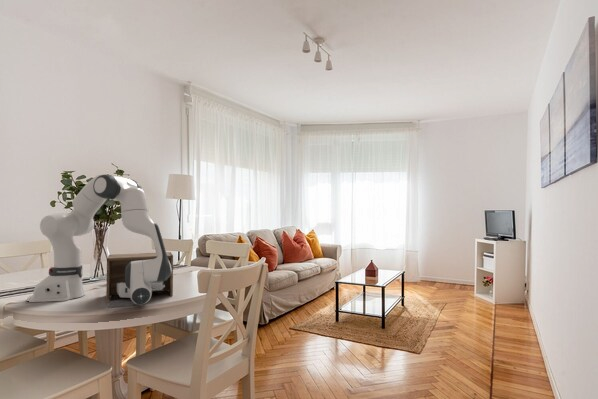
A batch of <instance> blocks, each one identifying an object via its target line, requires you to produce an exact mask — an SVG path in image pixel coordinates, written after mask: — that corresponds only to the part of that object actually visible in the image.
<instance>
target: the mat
mask: <svg viewBox="0 0 598 399" xmlns="http://www.w3.org/2000/svg"><path fill="white" fill-rule="evenodd" d="M108 302H109V303H108V306H107V307H108V308H110V307H111V308H120V307H133V306H135V305H136V304H135V303H133V302H132V300H131V298H126V299H116V300H109V301H108Z"/></svg>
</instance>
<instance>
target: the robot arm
mask: <svg viewBox="0 0 598 399" xmlns="http://www.w3.org/2000/svg"><path fill="white" fill-rule="evenodd" d="M107 200H111V201H115V202H119V204H120V213H121V221H122V225H123V227H124V228H125V229H126V230H127V231H130V232H132V233H135V234H139V235H143V236H146V237H147V238H150V239H151V240H152V243H153V246H154V249H155V253H156V254H157V258H155V259H149V260H143V262H142V260H139V261H132V262H130V263H129V264H128V265H127V266H126V269H125V282H121V283H117V294H116V295H118V296H119V298H123V299H124V298H125V299H131V300H132V302H133V303H135V304H134V305H146V304H147V303H149V302H150V300H151V299H152V294H153V292H157V291H156V290H162V289H163V287H165V285H164V281H165V280H167V279H168V278H169V277H170V275H171V272H172V268H171V264H170V262H169V260H168V257H167V254H166V252H167V250H166V247H165V243H164V240H163V236H162V233H161V230H160V227H159V225H158V223H157V222H156V221H153V219H152V218H151V216H150V213H149V203H148V199H147V195H146V192H145V191H144V190H143V188H142V186H141V183H139V182H138V181H137V180H134V179H131V178H128V177H123V176H117V175H111V174H98V175H95V176H94V177H93V178H92V179H90V180H89V181H88V182H87V183H86V184H85V185H84V186H83V187H82V188H81V190H80V191H79V192H78V193H77V195H76V196H75V197H74V198H73V199H72V203H71V204H72V207H73V210H71V211H70V212H68V213H64V212H63V213H59V212H58V213H53V214H48V215H46V216H43V217H42V219H41V220H40V223H39V229H40V232H41V234H42V235H44V236H45V237H46V238H47V239H48V240H49V242H50V243H51V246H52V250H53V266H51V267H49V269H48V276H47V277H44V279H42V280H41V281H39V282H38V283H37V284H36V285H35V287H34V289H33V293H32V294H33V295H30V296H29V297H27V299H26V302H27V301H29V302H28V303H42V302H43V303H44V302H45V303H46V302H62V301H63V302H64V301H69V300H72V299H77V298H80V297H84V296H85V295H86V293H85V289H84V286H83V275H84V274H83V272H84V270H83V265H82V257H83V256H82V254H83V253H82V249H81V247H80V246H79V245H77V244H76V243H75V240H74V237H80V236H83V235H88V234H89V233H91V232H92V231H93V230H94V228H95V220H94V217H95V215H96V213H97V212H98V211H99V209H100V208H101V207H102V206H103V205H104V204H105V202H106V201H107ZM143 273H144V276H143ZM152 291H153V292H152Z"/></svg>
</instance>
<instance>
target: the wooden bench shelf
mask: <svg viewBox="0 0 598 399" xmlns="http://www.w3.org/2000/svg"><path fill="white" fill-rule="evenodd" d="M166 254H167V257H168V260H169V262H170V264H171V268H172V272H171V275H170V277H169V278H168V279H167V280H165V281H164V285H165V287H163V289H162V290H156V291H155V292H163V291H164V292H165V291H168V293H169V295H170V297H173V296H174V293H173V292H174V290H173V289H174V288H173V287H174V255H173V254H172V252H171V251H170V252H169V251H166ZM155 258H157V254H156V252H146V253H141V252H140V253H123V254H119V253H118V254H109V255H108V256H107V257H106V291H105V292H106V300H105V301H106V302H110V299H111V296H114V295H118V294H117V283H121V282H125V269H126V266H127V265H128V264H129V263H130V262H132V261H139V260H142V262H143V260H149V259H155ZM153 292H154V291H152V293H153Z"/></svg>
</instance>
